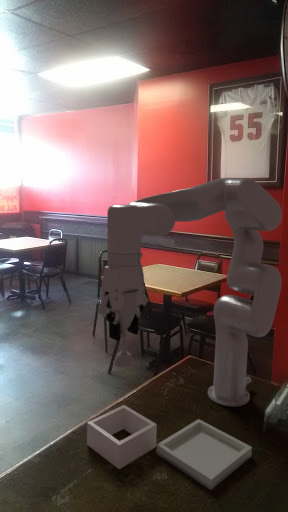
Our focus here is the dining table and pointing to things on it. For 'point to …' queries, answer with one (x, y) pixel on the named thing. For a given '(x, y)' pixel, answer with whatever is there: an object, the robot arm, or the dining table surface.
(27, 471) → the dining table surface
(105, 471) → the dining table surface
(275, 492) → the dining table surface
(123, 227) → the robot arm
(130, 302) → the chalice
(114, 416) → the sleeve
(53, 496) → the dining table surface
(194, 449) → the tray
